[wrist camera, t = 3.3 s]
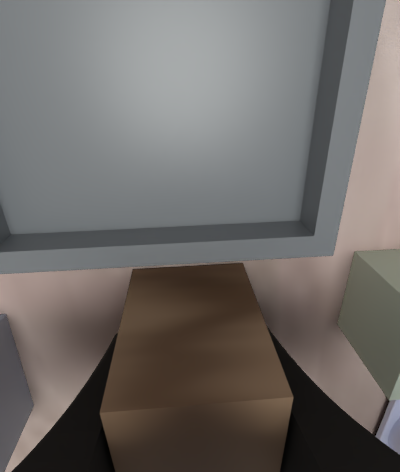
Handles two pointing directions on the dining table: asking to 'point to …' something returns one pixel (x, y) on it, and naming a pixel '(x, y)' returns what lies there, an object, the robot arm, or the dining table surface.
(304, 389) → the robot arm
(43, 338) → the dining table surface
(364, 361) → the sage block
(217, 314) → the walnut block
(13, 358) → the slate blue block
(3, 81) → the tray
